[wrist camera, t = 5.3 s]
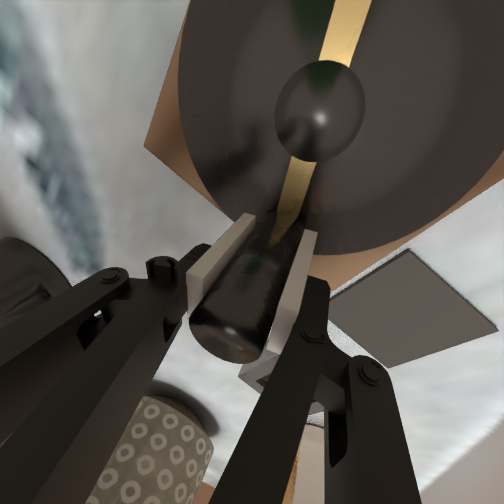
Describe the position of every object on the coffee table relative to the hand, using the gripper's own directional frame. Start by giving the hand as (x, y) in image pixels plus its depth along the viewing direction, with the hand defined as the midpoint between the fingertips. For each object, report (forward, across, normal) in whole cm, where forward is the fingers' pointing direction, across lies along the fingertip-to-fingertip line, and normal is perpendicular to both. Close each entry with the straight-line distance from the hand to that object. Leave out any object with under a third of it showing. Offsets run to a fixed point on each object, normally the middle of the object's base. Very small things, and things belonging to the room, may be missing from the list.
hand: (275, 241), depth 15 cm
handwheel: (+3, 0, +7) cm, 8 cm away
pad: (+4, +11, -6) cm, 13 cm away
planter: (+5, -13, -46) cm, 48 cm away
